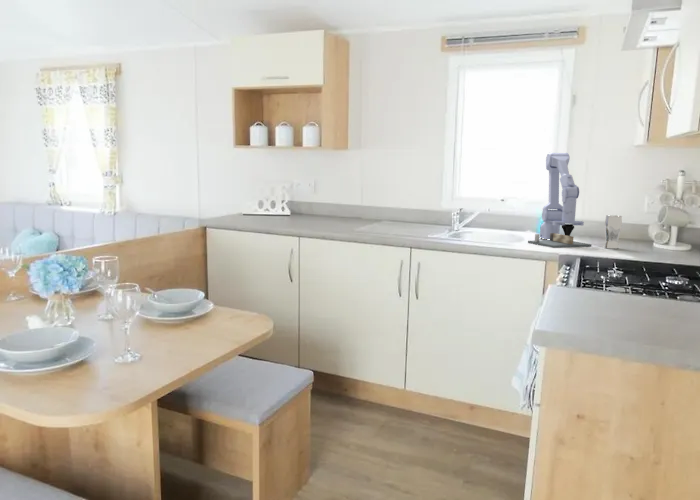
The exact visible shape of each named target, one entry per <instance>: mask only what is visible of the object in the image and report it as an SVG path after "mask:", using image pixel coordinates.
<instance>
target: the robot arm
mask: <svg viewBox="0 0 700 500" xmlns="http://www.w3.org/2000/svg"><path fill="white" fill-rule="evenodd" d="M569 163H570V154H569V152H552V151H551V152H548V153H547V155H546V158H545V168H546V169H545V170H547V171H548V203H547V204H546V205H544V206H543V208H542V212H541V220H542V223H541V224H540V228H539V234H540V235H539V238H540V237H541V238H544V239H550V233H555V234H560V230H561V229H562V231H563V234H564V235H567V236H571V234H572V232H573V231H574V229H575V226H581V227H583V226H584V224H585V222H584V221H583V220H582V221H580V220H576V210H577V199H578V198H579V196H580V187H579V186H578V185H577V184H575V180H574V178H573V175H572V174H570V172H569V167H568V165H569ZM560 184H561V198H562V199H561V201H562V205H561V204H560V203H559V202H560ZM560 228H561V229H560Z"/></svg>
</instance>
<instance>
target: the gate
mask: <svg viewBox="0 0 700 500" xmlns="http://www.w3.org/2000/svg"><path fill="white" fill-rule="evenodd" d="M550 240H551V241H557V242H562V243H567V244H573V241H574V236H572V235H570V236H567V235H565V234H560V233H559V234H555V233H550Z"/></svg>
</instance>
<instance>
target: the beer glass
mask: <svg viewBox="0 0 700 500" xmlns="http://www.w3.org/2000/svg"><path fill="white" fill-rule="evenodd" d="M622 217H623V216H622V215H617V214H616V215H614V214H612V215H611V214H607V215H605V220H604V235H605V240H604V241H605V242H604V245H603V248H604V249H608V250H609V249H610V250H619V238H620V235H621V230H622V226H623V225H622V223H623V218H622Z"/></svg>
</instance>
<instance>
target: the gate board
mask: <svg viewBox="0 0 700 500" xmlns="http://www.w3.org/2000/svg"><path fill="white" fill-rule="evenodd" d="M539 238H540V233H535V234H534V240H528V241H527V243H528V244H532V243H533V245H537V244H538V245H537V246H543V247H547V248H553V249H556V248H582V247H583V248H585V247H592V244H591V243H585V242H580V241H575V240H573V244H567V243H562V242H557V241H551V240H543V239H539Z"/></svg>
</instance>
